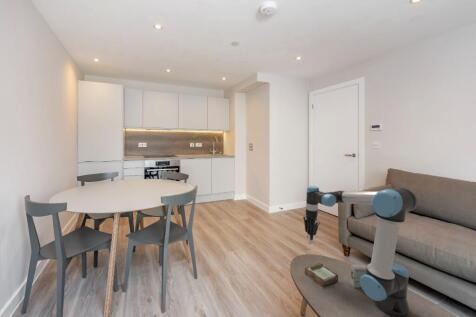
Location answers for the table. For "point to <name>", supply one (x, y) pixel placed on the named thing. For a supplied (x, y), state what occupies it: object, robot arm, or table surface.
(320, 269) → the lid
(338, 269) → the table surface
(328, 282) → the walnut box
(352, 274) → the ink box
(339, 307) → the table surface
